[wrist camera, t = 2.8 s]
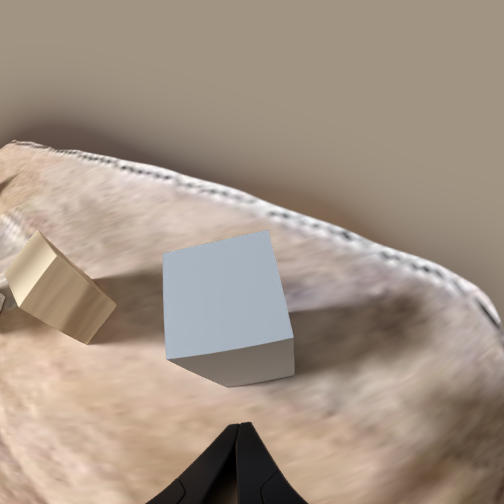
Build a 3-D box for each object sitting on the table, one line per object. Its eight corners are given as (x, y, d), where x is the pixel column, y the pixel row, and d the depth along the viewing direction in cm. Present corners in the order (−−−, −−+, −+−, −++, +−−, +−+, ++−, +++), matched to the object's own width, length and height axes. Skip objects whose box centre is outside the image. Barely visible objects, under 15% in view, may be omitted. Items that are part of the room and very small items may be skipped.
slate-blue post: (294, 375, 20) (293, 337, 10) (227, 387, 20) (166, 359, 11) (281, 313, 22) (268, 229, 13) (218, 326, 22) (162, 253, 13)
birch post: (117, 305, 25) (56, 255, 17) (87, 344, 23) (18, 307, 15) (91, 279, 27) (37, 229, 19) (64, 314, 25) (4, 273, 17)
